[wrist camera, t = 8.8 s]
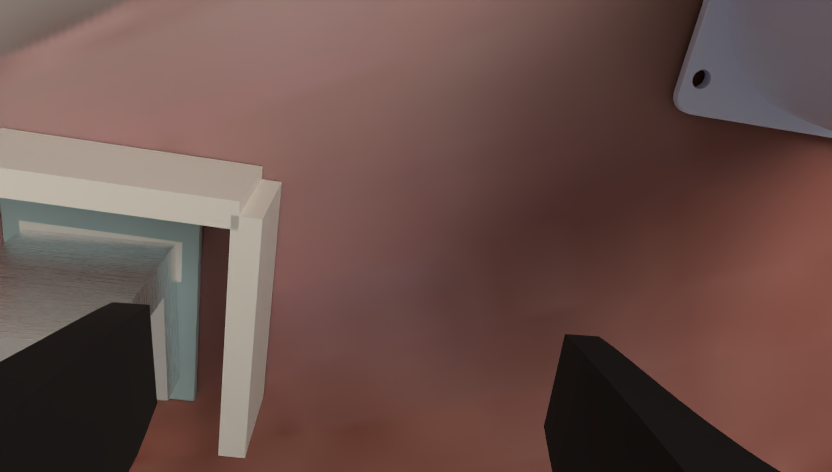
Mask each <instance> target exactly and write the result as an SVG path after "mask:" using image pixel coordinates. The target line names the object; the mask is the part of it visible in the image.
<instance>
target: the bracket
mask: <svg viewBox="0 0 832 472" xmlns="http://www.w3.org/2000/svg"><path fill="white" fill-rule="evenodd" d="M112 302H118V303H132V304H146V305H150V317H151V330H152V343H153V356H154V369H155V382H156V395H157V400H166V401H168V399H169V397H170V395H171V394H172V392H173V390H174V388H175V386H176V384H177V382H178V380H179V378H180V374H179V343H178V311H177V279H176V248H175V244H167V243H157V242H147V241H137V240H127V239H117V238H106V237H96V236H86V235H76V234H66V233H56V232H46V231H36V230H25V229H22V230H21V231H20V232H18V233H17V234H16V235H14V236H13V237H11V238H10V239H9V240H7V241H6V242H5V243H3V244H2V245H0V361H2V360H4V359H6V358H8V357H10V356H12V355H13V354H15V353H17V352H19V351H21V350H23V349H25V348H26V347H28V346H30V345H32V344H34V343H36V342H37V341H39V340H41V339H43V338H45V337H47V336H49V335H50V334H52V333H54V332H56V331H58V330H60V329H61V328H63V327H65V326H67V325H69V324H70V323H72V322H74V321H76V320H78V319H80V318H81V317H83V316H85V315H87V314H89V313H91V312H93V311H95V310H97V309H99V308H101V307H103V306H105V305H107V304H110V303H112Z"/></svg>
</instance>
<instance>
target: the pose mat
mask: <svg viewBox="0 0 832 472" xmlns="http://www.w3.org/2000/svg"><path fill="white" fill-rule="evenodd" d="M0 207H1V217H2V227H3V237H4V243H5V242H6V241H7V240H9V239H10V238H11V237H13V236H14V235H16V234H17V233H18V232H20V231H21V230H22V229H25V230H36V231H46V232H56V233H66V234H76V235H86V236H96V237H106V238H117V239H127V240H137V241H147V242H157V243H167V244H175V248H176V279H177V311H178V343H179V374H180V378H179V380H178V382H177V384H176V386H175V388H174V390H173V392H172V394H171V395H170V397H169V398H170V399H179V400H188V401H194V400H195V398H196V396H197V367H198V338H199V308H200V279H201V249H202V225H196V224H189V223H181V222H174V221H167V220H160V219H152V218H145V217H138V216H131V215H123V214H116V213H109V212H101V211H94V210H87V209H80V208H72V207H65V206H58V205H51V204H43V203H36V202H29V201H22V200H14V199H7V198H0Z"/></svg>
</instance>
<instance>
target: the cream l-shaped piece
mask: <svg viewBox="0 0 832 472" xmlns="http://www.w3.org/2000/svg"><path fill="white" fill-rule="evenodd" d="M262 169H263V166H257V165H250V164H243V163H236V162H229V161H223V160H216V159H209V158H202V157H195V156H189V155H182V154H175V153H168V152H162V151H155V150H148V149H141V148H134V147H128V146H121V145H114V144H107V143H101V142H94V141H87V140H80V139H73V138H67V137H60V136H53V135H46V134H40V133H33V132H26V131H19V130H12V129H6V128H1V129H0V198H7V199H14V200H22V201H29V202H36V203H43V204H51V205H58V206H65V207H72V208H80V209H87V210H94V211H101V212H109V213H116V214H123V215H131V216H138V217H145V218H152V219H160V220H167V221H174V222H181V223H189V224H196V225H203V226H210V227H218V228H225V229H230V244H229V263H228V281H227V300H226V319H225V338H224V357H223V375H222V394H221V413H220V432H219V451H218V456H228V457H238V458H245V456H246V452H247V449H248V446H249V442H250V439H251V436H252V433H253V429H254V426H255V423H256V419H257V416H258V413H259V410H260V406H261V403H262V400H263V396H264V385H265V373H266V362H267V350H268V338H269V327H270V315H271V303H272V292H273V280H274V268H275V257H276V245H277V233H278V222H279V210H280V198H281V187H282V182H279V181H272V180H265V179H262Z"/></svg>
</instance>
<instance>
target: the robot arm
mask: <svg viewBox="0 0 832 472" xmlns="http://www.w3.org/2000/svg"><path fill="white" fill-rule="evenodd" d="M700 70H703V71H704V73H705V78H704V80H703V82H702V83H701V84H699V85H698V86H694V85H693V83H692V79H693V76H694V75H695V73H696V72H698V71H700ZM673 101H674V105H675V106H676V107H677V108H678V109H679V110H680V111H682V112H684V113H687V114H690V115H696V116H702V117H708V118H714V119H720V120H726V121H732V122H738V123H744V124H750V125H757V126H763V127H769V128H775V129H781V130H787V131H793V132H799V133H805V134H811V135H817V136H823V137H829V138H832V0H704V1H703V4H702V7H701V10H700V13H699V16H698V19H697V22H696V25H695V28H694V32H693V35H692V38H691V41H690V44H689V47H688V50H687V53H686V56H685V59H684V62H683V65H682V68H681V71H680V75H679V78H678V81H677V84H676V87H675V90H674V94H673ZM156 405H157V395H156V382H155V369H154V356H153V343H152V330H151V317H150V305H146V304H132V303H118V302H112V303H110V304H107V305H105V306H103V307H101V308H99V309H97V310H95V311H93V312H91V313H89V314H87V315H85V316H83V317H81V318H80V319H78V320H76V321H74V322H72V323H70V324H69V325H67V326H65V327H63V328H61V329H60V330H58V331H56V332H54V333H52V334H50V335H49V336H47V337H45V338H43V339H41V340H39V341H37V342H36V343H34V344H32V345H30V346H28V347H26V348H25V349H23V350H21V351H19V352H17V353H15V354H13V355H12V356H10V357H8V358H6V359H4V360H2V361H0V472H128V471H129V469H130V468H131V466H132V464H133V462H134V460H135V458H136V456H137V454H138V451H139V449H140V447H141V444H142V442H143V439H144V437H145V434H146V432H147V429H148V426H149V423H150V421H151V418H152V415H153V413H154V410H155V407H156ZM544 429H545V435H546V440H547V446H548V452H549V457H550V462H551V467H552V472H780V471H778V470H777V469H775V468H773V467H772V466H770V465H769V464H767V463H765V462H764V461H762V460H761V459H759V458H758V457H756V456H755V455H753V454H752V453H750V452H749V451H747V450H746V449H744V448H743V447H741V446H740V445H739V444H737V443H736V442H734V441H733V440H732V439H730V438H729V437H727V436H726V435H725V434H723V433H722V432H721V431H719V430H718V429H716V428H715V427H714V426H712V425H711V424H709V423H708V422H707V421H705V420H704V419H703V418H701V417H700V416H699V415H698V414H696V413H695V412H694V411H692V410H691V409H690V408H688V407H687V406H686V405H685V404H683V403H682V402H681V401H679V400H678V399H677V398H676V397H674V396H673V395H672V394H671V393H669V392H668V391H667V390H666V389H664V388H663V387H662V386H661V385H659V384H658V383H657V382H656V381H655V380H653V379H652V378H651V377H650V376H648V375H647V374H646V373H645V372H644V371H642V370H641V369H640V368H639V367H637V366H636V365H635V364H634V363H633V362H631V361H630V360H629V359H628V358H626V357H625V356H624V355H623V354H621V353H620V352H619V351H618V350H616V349H615V348H614V347H613V346H611V345H610V344H609V343H607V342H606V341H604V340H603V339H601V338H600V337H597V336H583V335H569V334H565V337H564V341H563V345H562V350H561V354H560V359H559V363H558V367H557V372H556V376H555V381H554V385H553V389H552V394H551V398H550V402H549V407H548V411H547V416H546V420H545V424H544Z"/></svg>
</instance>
